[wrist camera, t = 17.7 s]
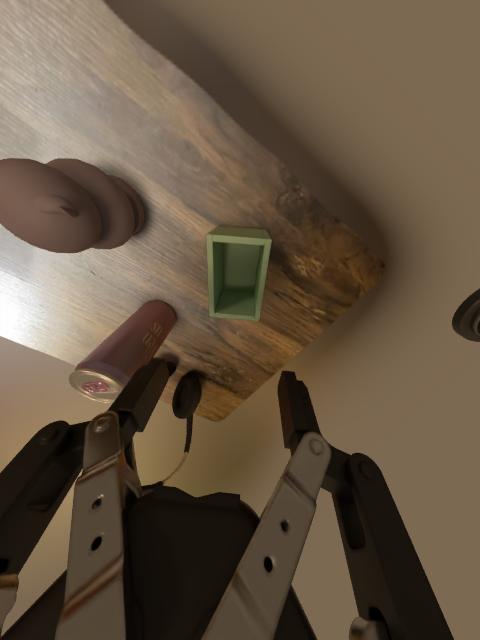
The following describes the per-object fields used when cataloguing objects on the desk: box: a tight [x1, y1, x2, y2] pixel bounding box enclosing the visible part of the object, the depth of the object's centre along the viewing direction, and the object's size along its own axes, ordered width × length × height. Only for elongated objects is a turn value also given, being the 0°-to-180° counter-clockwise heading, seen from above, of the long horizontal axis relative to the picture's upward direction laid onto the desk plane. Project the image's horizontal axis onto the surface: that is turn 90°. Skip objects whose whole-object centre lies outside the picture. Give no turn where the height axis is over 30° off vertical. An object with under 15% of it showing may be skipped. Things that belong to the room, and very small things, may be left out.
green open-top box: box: [206, 226, 272, 321], centre depth 21 cm, size 8×6×9 cm
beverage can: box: [69, 301, 176, 403], centre depth 24 cm, size 6×6×15 cm
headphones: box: [141, 362, 202, 495], centre depth 31 cm, size 9×15×20 cm, turn 47°
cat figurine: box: [0, 158, 145, 253], centre depth 17 cm, size 8×8×12 cm
